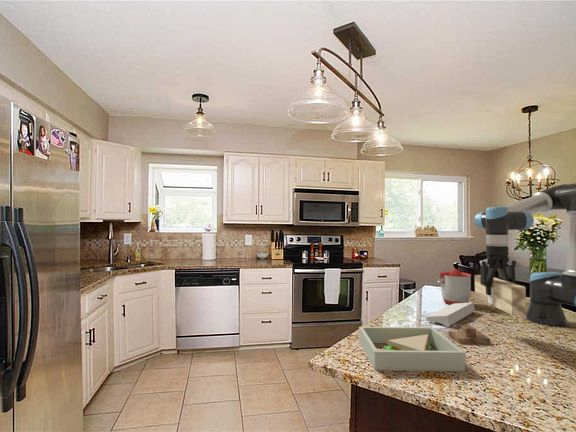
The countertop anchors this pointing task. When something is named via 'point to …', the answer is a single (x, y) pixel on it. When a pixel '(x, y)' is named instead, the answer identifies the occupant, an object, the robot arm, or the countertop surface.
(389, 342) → the sandwich
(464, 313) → the decorative molding
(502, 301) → the beam
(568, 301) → the robot arm
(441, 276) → the citrus juicer
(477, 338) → the fulcrum
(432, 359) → the sandwich crate
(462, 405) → the countertop surface
